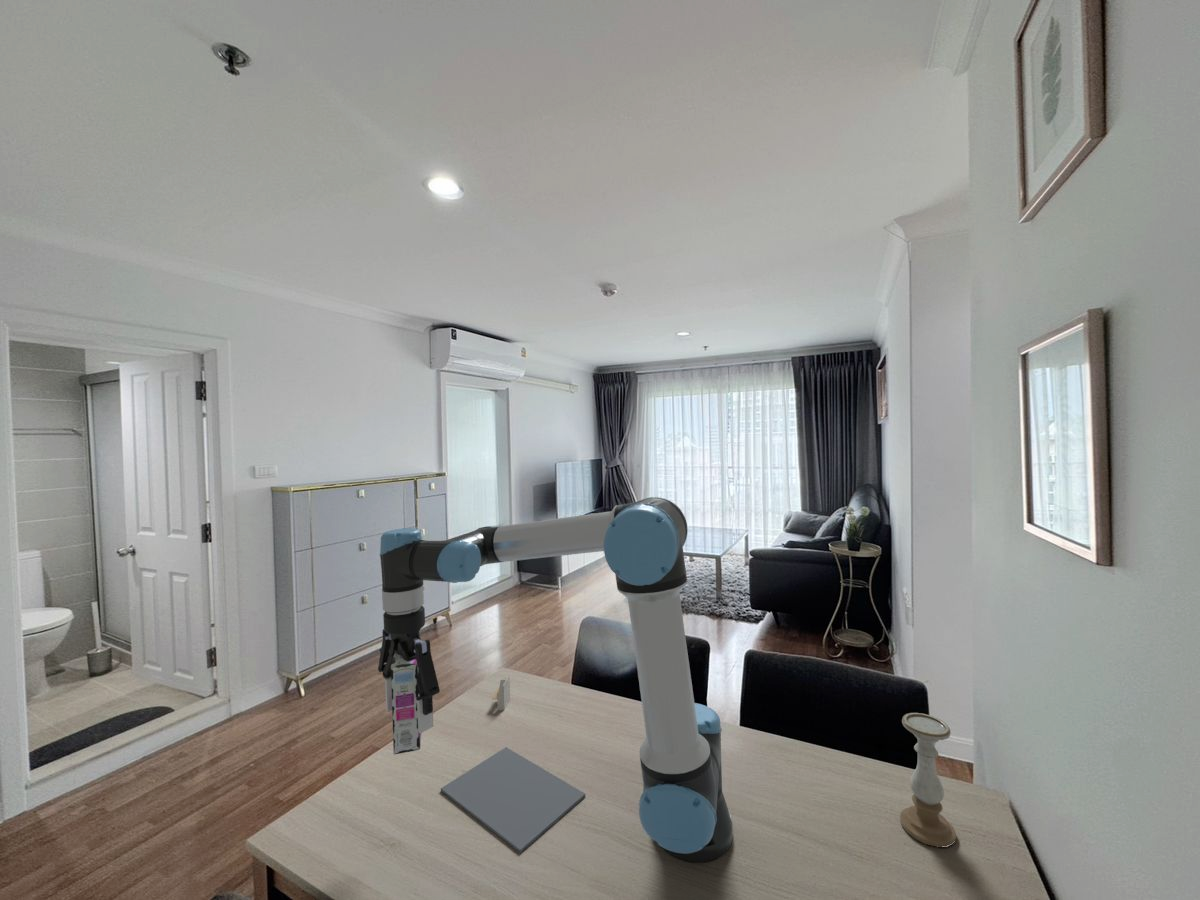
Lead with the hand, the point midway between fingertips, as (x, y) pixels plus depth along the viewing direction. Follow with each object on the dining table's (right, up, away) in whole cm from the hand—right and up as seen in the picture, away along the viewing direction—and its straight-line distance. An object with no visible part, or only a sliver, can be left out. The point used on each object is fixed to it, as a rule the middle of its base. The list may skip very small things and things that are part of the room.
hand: (409, 718), depth 96 cm
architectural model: (+10, -21, +44) cm, 50 cm away
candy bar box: (0, -4, 0) cm, 4 cm away
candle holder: (+99, -19, -4) cm, 101 cm away
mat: (+19, -21, +9) cm, 29 cm away
